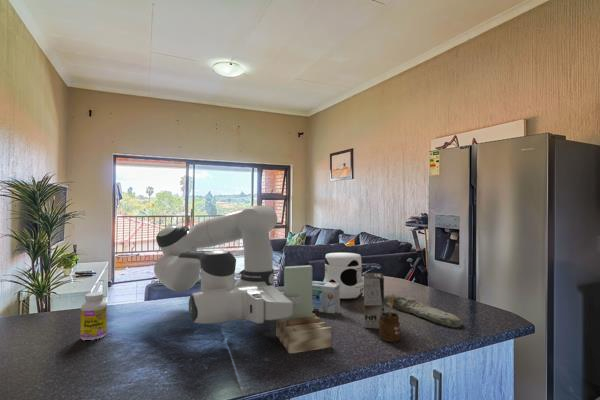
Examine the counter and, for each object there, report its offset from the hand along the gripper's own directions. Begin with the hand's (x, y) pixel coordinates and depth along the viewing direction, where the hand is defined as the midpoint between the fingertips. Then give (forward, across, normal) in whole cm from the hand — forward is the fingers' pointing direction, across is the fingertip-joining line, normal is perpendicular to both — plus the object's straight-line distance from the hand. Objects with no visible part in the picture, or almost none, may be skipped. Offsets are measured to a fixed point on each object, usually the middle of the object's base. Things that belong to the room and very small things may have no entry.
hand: (297, 297), depth 98 cm
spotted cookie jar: (+33, -36, -13) cm, 51 cm away
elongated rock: (+50, -10, -13) cm, 52 cm away
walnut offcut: (0, +4, -11) cm, 12 cm away
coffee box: (+28, -5, -13) cm, 31 cm away
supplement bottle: (-56, -23, -13) cm, 62 cm away
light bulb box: (+17, -20, -13) cm, 29 cm away
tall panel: (0, 0, -11) cm, 11 cm away
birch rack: (0, +4, -12) cm, 13 cm away
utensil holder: (+26, +7, -13) cm, 30 cm away
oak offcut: (0, +8, -11) cm, 13 cm away
